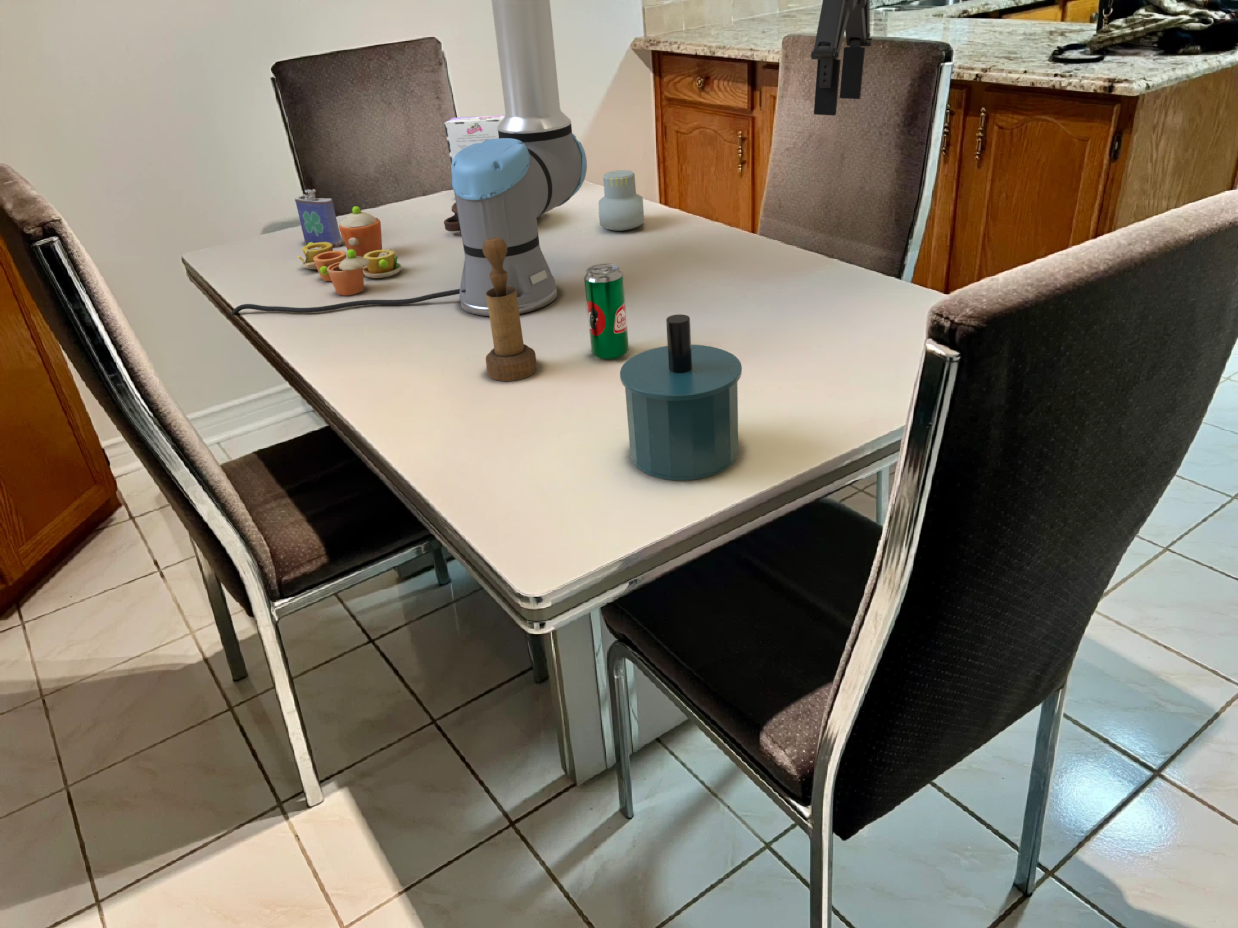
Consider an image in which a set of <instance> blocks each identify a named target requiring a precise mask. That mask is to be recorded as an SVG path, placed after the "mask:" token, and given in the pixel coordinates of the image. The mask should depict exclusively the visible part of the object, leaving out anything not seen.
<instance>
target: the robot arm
mask: <svg viewBox="0 0 1238 928" xmlns="http://www.w3.org/2000/svg"><path fill="white" fill-rule="evenodd" d="M491 7H492V8H491V9H492V17H493V23H494V31H495V39H496V48H497V57H498V63H499V71H500V82H501V89H502V97H503V102H504V103H503V104H504V115H505V117H504V118H503V120H502V121H501V122H500V124H499V125H498V135H499V139H491V140H486V141H483V142H482V143H475V144H473V145H470V146H468V147H466V148H464V149H462V150H461V151H459V152H458V153H457V154H456V155H455V157H454V158H453V160H452V164H451V163H450V166H451V167H450V169H451V178H452V179H451V187H452V190H453V192H454V193H453V194H454V199H455V203H456V205H457V211H458V217H459V223H460V229H461V231H460V235H461V240H462V241H461V242H462V246H463V252H464V261H463V267H462V272H461V273H462V274H461V279H460V287H459V288H457V289H456V288H455V289H450V290H445V291H439V292H434V293H430V294H425V295H421V296H416V297H412V298H402V299H401V298H399V299H362V300H353V301H346V302H340V303H335V304H330V305H324V306H313V307H312V306H311V307H293V306H292V307H291V306H275V305H260V304H254V303H244V304H240V305H237V306H235V308H233V310H232V311H231V312H230V316H236V315H237V314H238V313H239V312H241V311H243V310H255V311H261V312H283V313H297V314H298V313H299V314H310V313H320V312H321V313H322V312H328V311H335V310H340V309H346V308H351V307H352V308H353V307H360V306H376V305H378V306H379V305H381V306H396V305H397V306H399V305H400V306H401V305H410V304H417V303H422V302H425V301H430V300H435V299H440V298H444V297H445V298H446V297H450V296H456V295H459V301H460V306H461V309H462V310H464V311H466V312H467V313H470V314H473V315H478V316H482V317H490V316H489V310H488V304H487V298H486V292H487V291H488V290H490V289H492V288H494V286H493V284H492V282H491V279H490V276H489V274H490V273H491V271H492V266H491V264H490V262H489V261H488V260H487V258H486V257H485V255H484V253H483V244H484V242H485V240H487V239H488V238H491V237H500V238H502V239H503V240H504V241H505V243H506V245H507V254H506V257H505V259H504V262H503V269H504V270H505V271H507V274H508V276H507V285H506V286H512V287H514V288H516V292H517V300H518V307H519V315H521V314H525V313H529V312H533V311H536V310H539V309H541V308H543V307H546V306H547V305H550V303H552V302H553V301H555V299H556V298H557V296H558V291H557V289H558V288H557V283H556V280H555V277H554V276H553V273H552V271H551V269H550V267H549V264H548V262H547V260H546V258H545V256H544V254H543V251H542V249H541V244H540V238H539V229H538V221H537V218H539V217H540V216H542V215H544V214H546V213H549V211H551V210H553V209H555V208H557V207H561V206H562V205H564V204H566V203H567V202H569V200H570V199H571V198H572V197H573V196H575V195H576V194H577V193H578V192H579V191H580V190H581V188H582V186H583V184H584V182H585V179H586V175H587V172H588V171H587V168H588V162H587V155H586V151H585V148H584V146H583V144H582V142H581V141H579V140H578V138H577V136H576V135H575V134H574V133H573V130H572V127H573V126H572V121H571V118H569V117H568V116H567V114H565V113H564V112H563V111H562V110H561V105H560V104H561V102H560V95H559V94H560V92H559V83H558V72H557V71H558V70H557V62H556V52H555V51H556V50H555V41H554V31H553V19H552V11H551V9H552V8H551V0H491ZM870 25H871V0H822V3H821V8H820V14H819V20H818V25H817V29H816V35H815V40H814V46H813V49H812V50H811V52H810V59H811V60H817V66H816V78H815V79H816V80H815V93H814V103H813V104H814V105H813V115H815V116H817V115H818V116H834V117H835V116H836V115H837V108H838V95H839V99H846V100H847V99H849V100H860V99H861V95H862V94H861V93H862V85H863V75H864V74H863V73H864V64H865V63H864V62H865V53H866V47H871V46H872V44H873V38H872V37H871V26H870ZM844 36H845V37H844ZM844 38H845V43H846V46H844V47H843V53H842V55H843V56H842V60H841V59H840V58H839V57H840V52H841V48H842V44H843V40H844ZM841 61H842V66H841ZM840 72H841V75H840ZM840 76H841V77H840ZM839 85H840V89H839Z"/></svg>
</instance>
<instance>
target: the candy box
mask: <svg viewBox="0 0 1238 928" xmlns="http://www.w3.org/2000/svg"><path fill="white" fill-rule="evenodd" d="M504 117H505V114H498V115H497V114H496V115H480V116H477V115H476V116H463V117H451V118H450V119H448V120H447V121H445V122H443V126H444V131H445V137H446V142H447V149H448V155H449V161H450V165H451V164H452V160H453V158H454V157H455V155H456V154H457V153H458V152H459V151H461V150H462V149H464V148H466V147H468V146H470V145H473V144H475V143H482V142H483V141H486V140H491V139H499V135H498V125H499V124H500V122H501V121H502V120H503V118H504Z"/></svg>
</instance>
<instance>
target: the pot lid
mask: <svg viewBox="0 0 1238 928" xmlns="http://www.w3.org/2000/svg"><path fill="white" fill-rule="evenodd" d="M665 322H666V323H665V324H666V340H667V341H666V342H667V345H665V346H658V347H654V348H651V349H648V350H645V351H642V352H639V353H638V354H635V355H633V356H631V357H630V358H628V359H627V360H626V361H625V362H624V363H623V364H622V366H621V368H620V370H619V378H620V382H621V384H622V385H623V386H624V388H625V387H626V388H627V389H628V390H629V391H631V392H633V393H635V394H637V395H640V396H643V397H647V398H651V399H658V400H669V401H680V400H692V399H699V398H704V397H708V396H712V395H715V394H718V393H720V392H723V391H725V390H727V389H729V388H730V387H732V386H733V385H734V384H736V383H737V384H738V382H739V380H740V379H741V377H742V374H743V366H742V362H741V360H740V359H739V358H738V356H735V354H734V353H731V352H729V351H727V350H725V349H721V348H719V347H714V346H711V345H705V344H704V345H703V344H692V335H691V333H692V332H691V317H690V316H689V315H687V314H681V313H678V314H677V313H676V314H672V315H669V316H667V317H666V319H665Z"/></svg>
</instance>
